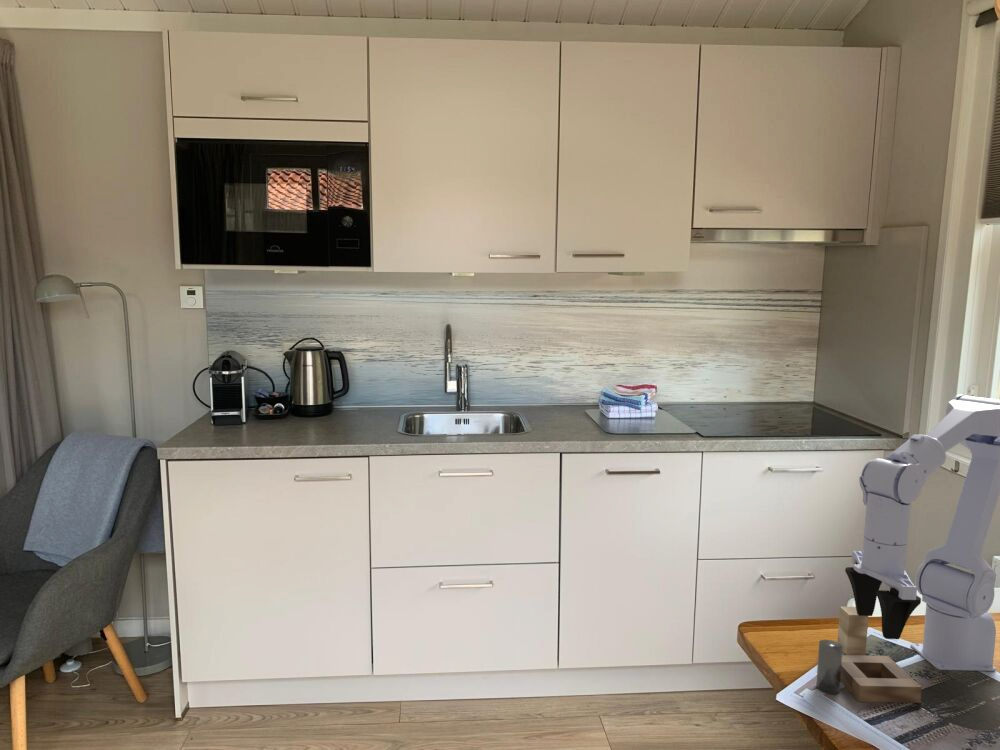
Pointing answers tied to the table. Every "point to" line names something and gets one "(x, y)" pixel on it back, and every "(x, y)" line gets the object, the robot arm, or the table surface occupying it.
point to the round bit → (829, 666)
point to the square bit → (852, 631)
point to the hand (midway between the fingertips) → (877, 626)
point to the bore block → (878, 680)
